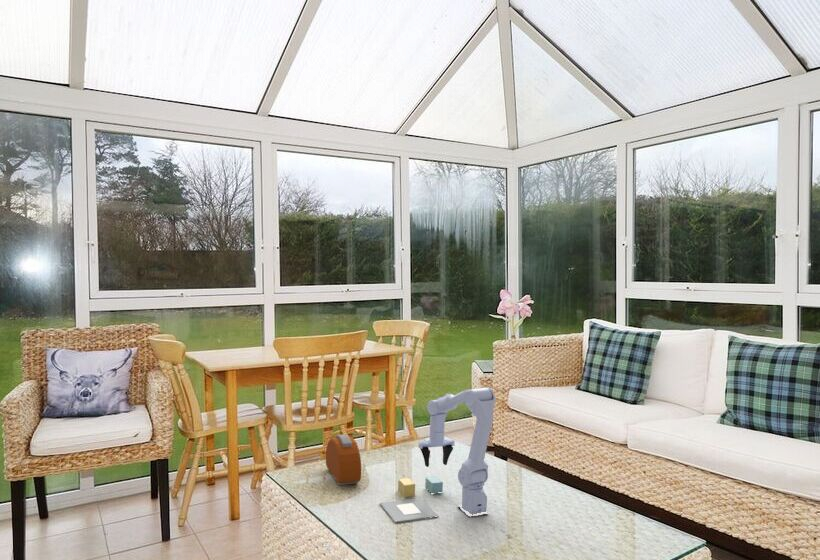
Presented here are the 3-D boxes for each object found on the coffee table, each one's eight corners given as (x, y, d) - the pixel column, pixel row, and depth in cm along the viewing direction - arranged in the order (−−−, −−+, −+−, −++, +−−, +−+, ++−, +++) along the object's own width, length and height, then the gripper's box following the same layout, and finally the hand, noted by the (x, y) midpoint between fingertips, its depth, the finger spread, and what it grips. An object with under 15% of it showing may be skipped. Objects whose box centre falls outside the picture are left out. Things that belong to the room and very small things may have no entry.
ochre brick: (414, 495, 215) (415, 484, 215) (403, 497, 214) (404, 485, 213) (408, 489, 221) (409, 478, 221) (398, 490, 219) (398, 479, 219)
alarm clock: (361, 486, 223) (362, 443, 222) (338, 488, 219) (340, 445, 219) (345, 465, 244) (346, 427, 244) (324, 468, 241) (326, 428, 241)
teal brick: (442, 493, 218) (442, 482, 218) (431, 495, 217) (432, 483, 217) (435, 487, 224) (435, 476, 224) (425, 488, 223) (425, 477, 222)
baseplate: (438, 517, 197) (438, 515, 197) (394, 523, 191) (395, 521, 191) (420, 499, 212) (420, 497, 212) (379, 504, 206) (379, 502, 206)
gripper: (449, 426, 228) (448, 460, 228) (416, 428, 223) (414, 463, 223) (457, 431, 221) (456, 465, 222) (422, 434, 216) (421, 469, 216)
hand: (435, 465), depth 222 cm, fingers open, 7 cm apart
